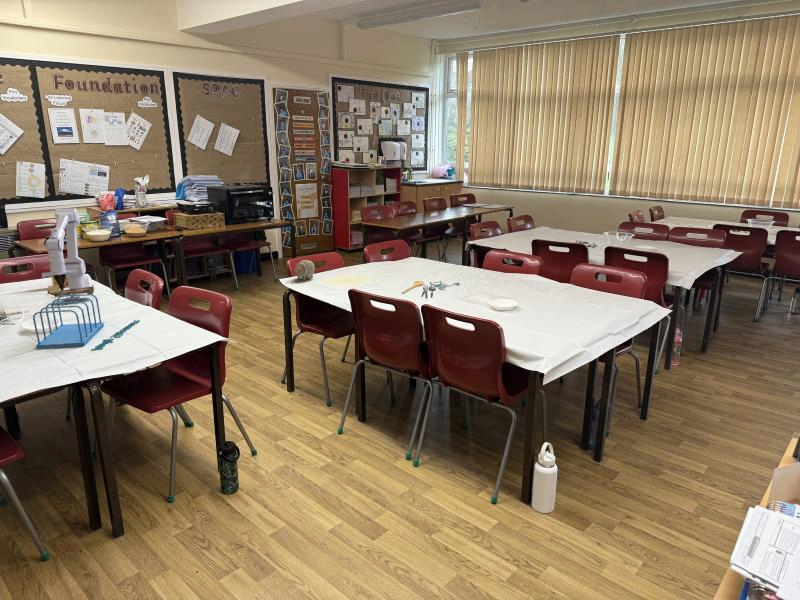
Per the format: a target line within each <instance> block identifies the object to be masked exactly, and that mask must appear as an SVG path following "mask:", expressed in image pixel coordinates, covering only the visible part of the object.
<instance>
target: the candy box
mask: <svg viewBox="0 0 800 600" xmlns="http://www.w3.org/2000/svg"><path fill="white" fill-rule="evenodd" d="M65 259H66V258H64V260H65ZM48 263H49V270H50V271H49V272H52V267H51V261H50V259H49V261H48ZM60 280H61V279H60ZM51 282H52V286H53V285H58V283H57V282H56V280H55V279H54V276H51ZM64 288H69V284H68V278H67V277H66V278H65V282H64ZM59 289H60V287H59Z"/></svg>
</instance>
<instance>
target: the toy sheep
mask: <svg viewBox="0 0 800 600" xmlns="http://www.w3.org/2000/svg"><path fill="white" fill-rule="evenodd" d="M315 267H316V266H315V263H313V261H311V260H307V259H305V260H304V259H302V260H301V261H299V262H298V263H296V266H295V269H294V270H295V273H296V275H297V281H300V278H302V279H303V281H307V279H309V278H311V279H313V278H314V273H315V270H316V268H315Z"/></svg>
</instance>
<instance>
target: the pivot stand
mask: <svg viewBox="0 0 800 600" xmlns="http://www.w3.org/2000/svg"><path fill="white" fill-rule="evenodd" d="M70 295H73V292H71V293H70ZM67 298H81V296H67ZM65 302H81V299H76V300H65ZM73 304H77V303H70V304H69V305H73ZM65 306H68V304H65Z"/></svg>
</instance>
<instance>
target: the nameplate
mask: <svg viewBox="0 0 800 600" xmlns="http://www.w3.org/2000/svg"><path fill="white" fill-rule="evenodd" d="M135 322H136V323H135ZM140 322H141V320H140V319H137V320H135V319H134V320H133V322H130V323H129V324H128V325H125V327H123V328H122V329H120V330H119V331H116V332H115V333H114V334H113V335H111V336H109V338H107V339H102V342H101V343H99V344H97V345H96V346H94V348H91V349H90V351H100V350H103V349H104V347H106V345H108V344H110V343H111V344H112V343H114V340H115V339H118V338H121V337H122V336H124V333H126V332H127V331H128V330H130V329H132V327H134V325H135V326H136V325H137V324H139V323H140ZM113 337H114V338H113Z"/></svg>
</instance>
